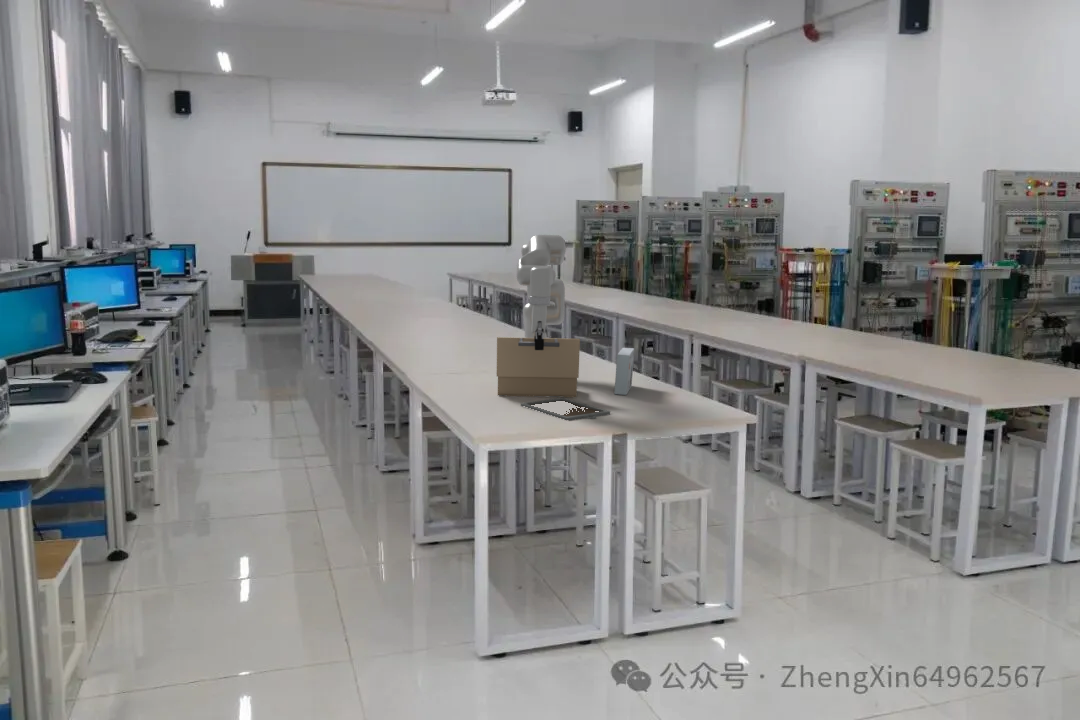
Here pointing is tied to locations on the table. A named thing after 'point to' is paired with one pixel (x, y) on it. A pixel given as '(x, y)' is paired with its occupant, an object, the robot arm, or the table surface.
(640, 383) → the table surface
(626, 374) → the skincare box
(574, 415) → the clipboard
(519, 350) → the lid
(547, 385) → the mailer box
